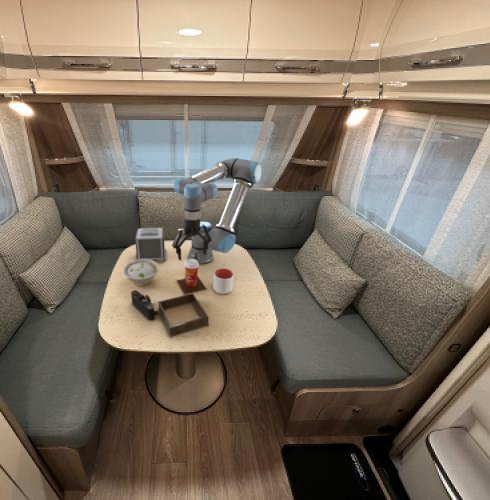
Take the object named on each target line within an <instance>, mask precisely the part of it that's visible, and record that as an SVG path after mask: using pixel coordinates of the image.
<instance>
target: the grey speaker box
mask: <svg viewBox="0 0 490 500" xmlns="http://www.w3.org/2000/svg"><path fill="white" fill-rule="evenodd" d="M134 243H135V253H136V254H135V260H140V259H148V260H153V261H154V260H158V262H166V261H167V249H166V248H165V246H166V245H165V230H164V229H163V227H145V228H143V227H142V228H141V227H140V228H137V230H136V232H135V237H134Z"/></svg>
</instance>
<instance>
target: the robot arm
mask: <svg viewBox="0 0 490 500" xmlns="http://www.w3.org/2000/svg"><path fill="white" fill-rule="evenodd" d="M261 178H262V166H261V164H260V162H258V161H254V160H253V159H252V160H250V159H243V158H237V157H233V158H232V157H231V158H227V159H224V160H221V161H219V162H217V163H215V164H214V166H212V167H209V168H207V169H205V170H203V171H200V172H197V173H196V174H193V175H191V176H189V177H186V178H183V177H178V178H176V179H175V180H174V181H173V185H172V186H173V190H174V192H175V193H177V194H179V195H183V197H184V198H183V200H184V201H183V202H184V203H183V204H184V205H183V208H184V209H183V212H184V213H183V214H184V220H183V221H184V223H183V225H184V227H183V228H181V227H179V228H178V229H177V233H176V235H175V237H174V240H173V242H172V244H171V246H172V248H173V249H174V250H175V253H176V255H177V259H178V260H179V261H182V248H181V247H182V246H183V244H184V243H186V241H187V240H188V239H189V238H190V237H191V247H190V249H189V252H188V257H187V259H188V260H189V259H195V260H197V261H198V263H199V265H203V264H208V263H210V262H212V261H213V258H214V255H213V252H212V251H213V250H214V251H215V252H217V253H222V254H227V253H229V252H230V251H231V250H233V248H234V246H235V244H236V240H237V237H236V235H235V229H234V228H235V226H236V223H237V220H238V218H239V215H240V213H241V210H242V208H243V205H244V203H245V200H246V198H247V195H248V193H249V190H250V189H253V187H254V185H256V184H259V182H260V180H261ZM224 179H232V182H233V187H232V189H231V192H230V195H229V198H228V200H227V203H226V205H225V207H224V210H223V213H222V215H221V217H220V219H219V223H218V224H215V226H214V227H212V225H213V224H212V223H211V222H208V221H201V214H202V213H201V212H202V203H204V202H207V201H209V200H212V199H213V198H215V197H216V196H217V194H218V187H217V184H215V183H214V182H216V181H218V180H224Z"/></svg>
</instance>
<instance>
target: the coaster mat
mask: <svg viewBox="0 0 490 500" xmlns="http://www.w3.org/2000/svg"><path fill="white" fill-rule="evenodd" d="M177 284H178V285H179V287H180V289H181V290H182V292H183V293H184V295H187V294H191V293H196V292H200V291H203V290H206V289H207V288H206V286H205V284H204V283H203V282H202V280H201V279H200V277H199V276H198V275H197V283H196V286H195V287H188V286H187V285H186V278H181V279H177Z"/></svg>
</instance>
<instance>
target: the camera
mask: <svg viewBox="0 0 490 500" xmlns="http://www.w3.org/2000/svg"><path fill="white" fill-rule="evenodd" d="M130 297H131V302H132V303H131V305H133V307H134V308H136V310H138V311H139V312H140V313H141V314H142V315H143V316H144V317H145V318H146V319H147V320H149V321H154V320H155V319H156V316H158V315H159V310H155V305H154V304H153V303H152V299H151V296H150V295H149V294H145V295H144V294H143V293H141V292H139V291H138V290H137V289H134V290H132V291H131V292H130Z"/></svg>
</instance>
